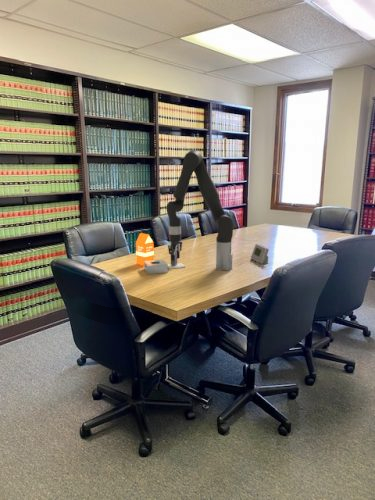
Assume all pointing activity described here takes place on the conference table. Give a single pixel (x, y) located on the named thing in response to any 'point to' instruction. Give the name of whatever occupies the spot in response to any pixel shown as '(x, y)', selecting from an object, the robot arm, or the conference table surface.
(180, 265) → the pad
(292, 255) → the conference table surface
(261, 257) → the digital clock
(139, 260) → the orange juice
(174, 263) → the key
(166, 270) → the block
